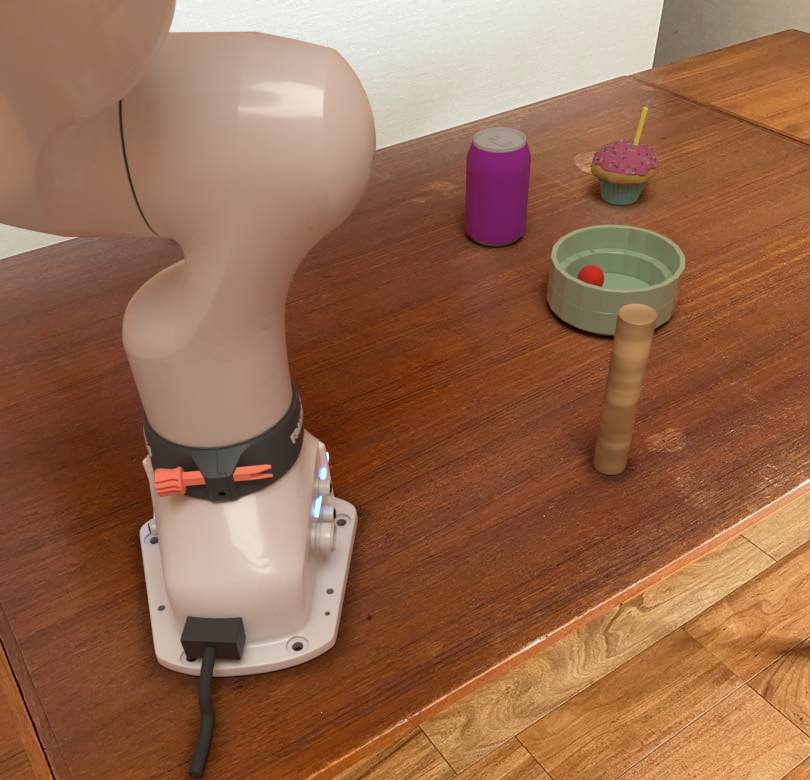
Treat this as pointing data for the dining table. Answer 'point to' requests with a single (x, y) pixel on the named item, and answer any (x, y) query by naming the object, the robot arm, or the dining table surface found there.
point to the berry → (591, 275)
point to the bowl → (614, 275)
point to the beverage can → (497, 186)
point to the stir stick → (623, 386)
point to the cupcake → (624, 167)
